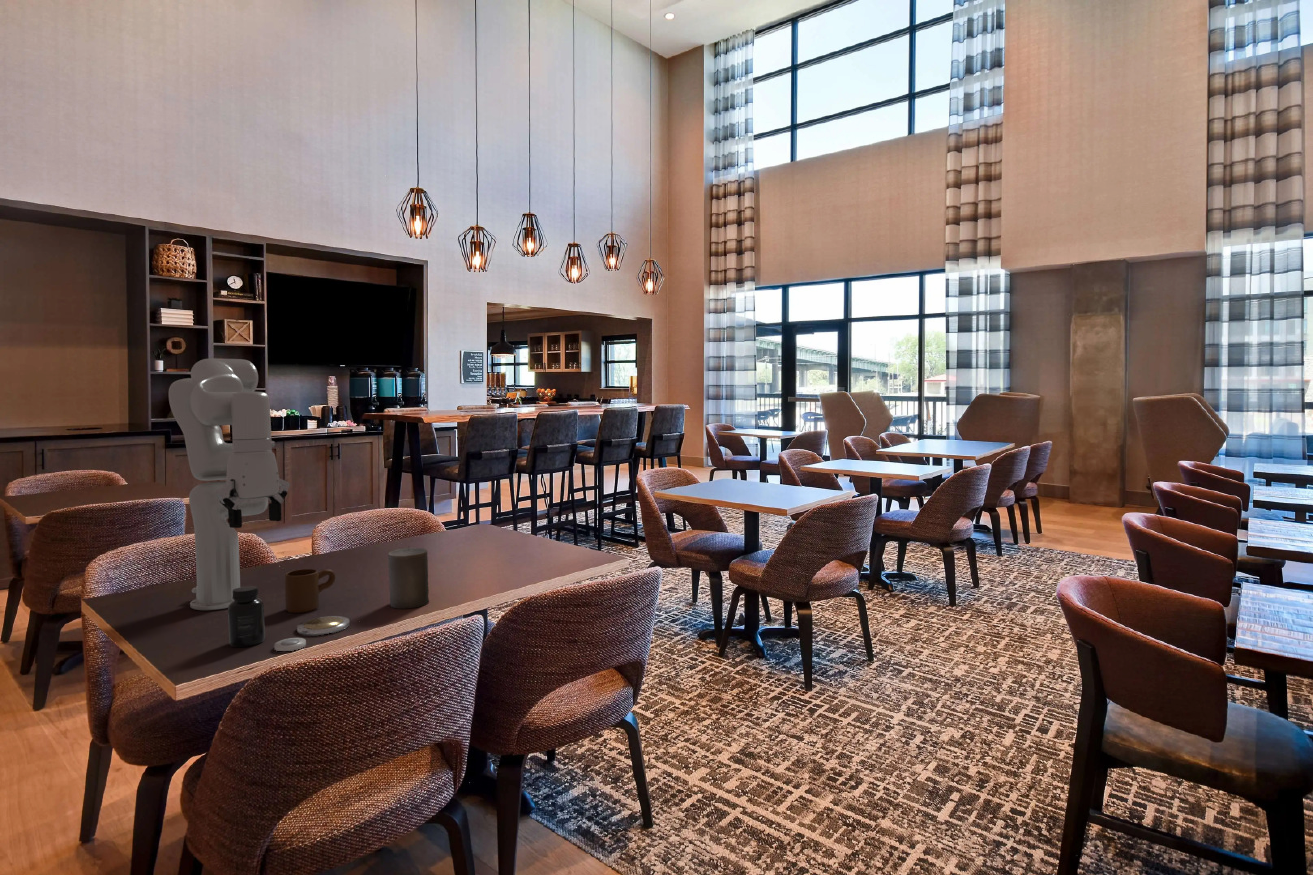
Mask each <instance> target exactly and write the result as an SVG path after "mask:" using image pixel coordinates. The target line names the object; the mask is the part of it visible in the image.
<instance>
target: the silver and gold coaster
mask: <svg viewBox="0 0 1313 875" xmlns="http://www.w3.org/2000/svg"><path fill="white" fill-rule="evenodd" d="M348 626H349V627H350V619H349V618H348V617H345V616H339V615H329V616H320V617H319V616H318V617H314V618H309V619H308V620H307V619H306V620H304V621H302V622H300V623H299V624H297V626H296V630H297V633H298V635H299V634H300V635H301V636H307V637H317V636H319V635H321V636H325V635H324V634H328V635H330V634H329V633H333V634H337V633H339V631H340V632H342V631H341V630H343V629H345V630H347V629H348V628H349V627H348ZM347 627H348V628H347ZM346 628H347V629H346ZM343 631H344V630H343ZM336 632H337V633H336Z"/></svg>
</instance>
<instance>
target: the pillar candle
mask: <svg viewBox="0 0 1313 875" xmlns="http://www.w3.org/2000/svg"><path fill="white" fill-rule="evenodd" d="M387 554H388V578H389V580H388V581H389V582H388V584H389V605H390V607H391V608H393V609H411V608H419V607H422V606H426V605H427V604H429V602H430V598H429V590H430V589H429V566H428V565H429V564H428V563H429V562H428V550H427V549H426V548H424V547H410V546H408V547H406V548H399V549H394V550H391V551H389V552H388V553H387Z"/></svg>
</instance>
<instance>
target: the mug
mask: <svg viewBox="0 0 1313 875" xmlns="http://www.w3.org/2000/svg"><path fill="white" fill-rule="evenodd" d="M326 576H328V579H327V581H326V582H321V583H320V584H319V580H320V579H322V578H324V577H326ZM335 581H336V574H335V572H334V571H333V570H332V569H329V568H328V569H327V568H325V569H322V570H320V571H319V572H318V570H317V569H312V568H301V569H295V570H291V571H288V572H286V573H285V575H284V598H285V599H284V601H285V602H284V603H285V609H286V611H287V612H288V613H292V614H301V613H309V612H311V611H315V610H316V609H319V606H320V597H319V594H320V593H321V592H323V591H324V590H327V589H329V588H331V587H332V586H333V585H334V583H335Z"/></svg>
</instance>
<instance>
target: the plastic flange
mask: <svg viewBox="0 0 1313 875" xmlns="http://www.w3.org/2000/svg"><path fill="white" fill-rule="evenodd" d="M306 646H307V640H306V638H303V637H291V638H290V637H289V638H284V639H281V640H279V641H277V642H275V643H274V651H275V650H276V651H275V652H277V651H292V652H295V651H294V650H296V651H299V650H298V649H300V650H302V649H304V648H305V647H306ZM303 647H304V648H303ZM301 648H302V649H301Z"/></svg>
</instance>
